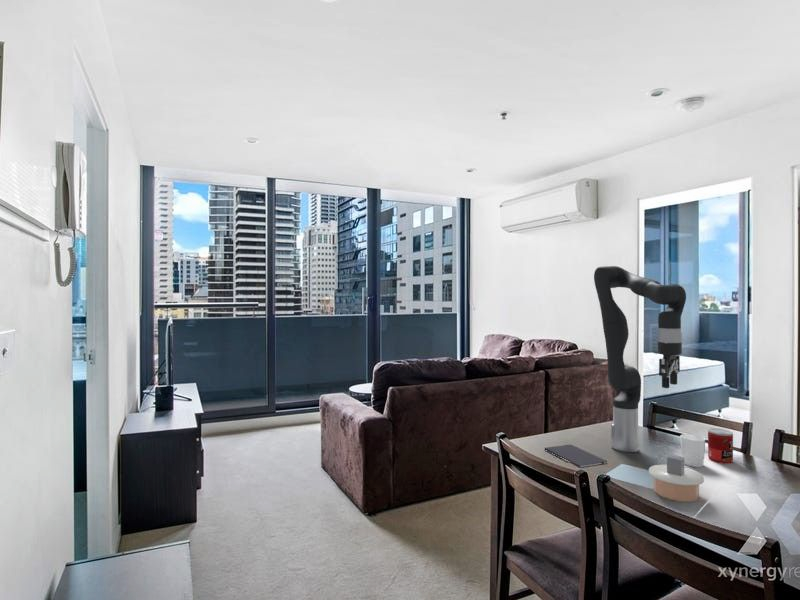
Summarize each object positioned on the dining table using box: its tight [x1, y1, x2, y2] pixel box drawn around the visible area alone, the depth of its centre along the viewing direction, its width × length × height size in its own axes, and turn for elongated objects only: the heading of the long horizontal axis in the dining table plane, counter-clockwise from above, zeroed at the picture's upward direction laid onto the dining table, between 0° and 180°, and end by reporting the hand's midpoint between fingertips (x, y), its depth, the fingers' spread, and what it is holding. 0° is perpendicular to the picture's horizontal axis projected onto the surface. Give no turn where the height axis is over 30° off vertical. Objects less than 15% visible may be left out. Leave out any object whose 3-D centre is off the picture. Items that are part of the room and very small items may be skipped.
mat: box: [605, 463, 654, 490], centre depth 163 cm, size 16×16×1 cm
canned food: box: [707, 427, 734, 464], centre depth 179 cm, size 8×8×11 cm
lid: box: [648, 454, 705, 486], centre depth 149 cm, size 15×15×6 cm
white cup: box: [680, 433, 706, 468], centre depth 175 cm, size 8×8×10 cm
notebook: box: [544, 444, 608, 468], centre depth 184 cm, size 13×2×21 cm
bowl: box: [653, 477, 700, 502], centre depth 149 cm, size 12×12×6 cm
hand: (669, 386), depth 169 cm, fingers open, 8 cm apart
